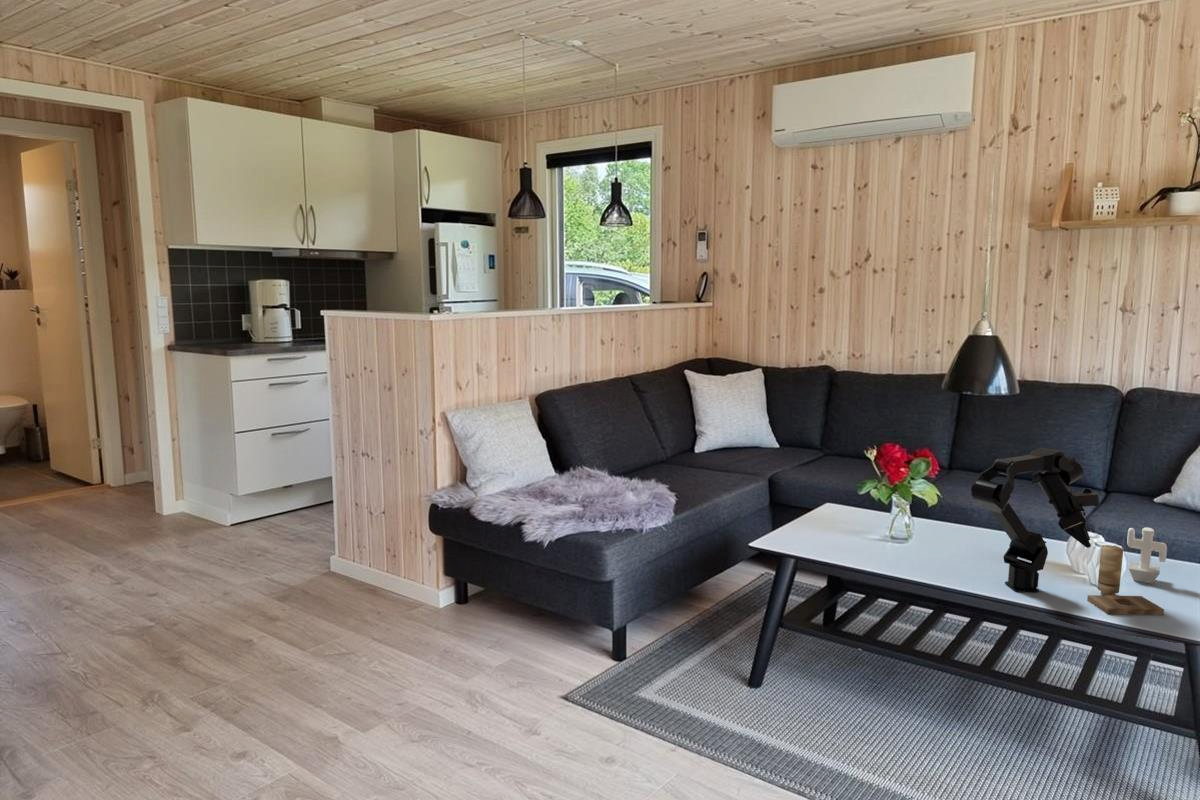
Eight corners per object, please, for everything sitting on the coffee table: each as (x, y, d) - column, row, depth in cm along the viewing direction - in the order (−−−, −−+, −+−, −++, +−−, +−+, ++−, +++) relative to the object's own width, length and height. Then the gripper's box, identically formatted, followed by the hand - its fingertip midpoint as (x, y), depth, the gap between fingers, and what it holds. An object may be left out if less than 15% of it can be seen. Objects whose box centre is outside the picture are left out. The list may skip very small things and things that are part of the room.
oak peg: (1103, 598, 217) (1108, 551, 215) (1092, 591, 222) (1097, 545, 220) (1122, 598, 217) (1127, 551, 215) (1111, 591, 222) (1116, 545, 220)
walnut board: (1107, 614, 206) (1108, 608, 206) (1087, 600, 215) (1087, 595, 215) (1163, 615, 206) (1164, 609, 206) (1140, 601, 215) (1141, 596, 215)
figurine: (1163, 587, 226) (1168, 534, 224) (1122, 580, 231) (1127, 528, 229) (1163, 579, 231) (1169, 528, 229) (1124, 572, 237) (1129, 522, 235)
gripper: (1087, 483, 212) (1121, 538, 209) (1086, 474, 228) (1118, 525, 225) (1044, 501, 217) (1077, 555, 214) (1046, 491, 233) (1077, 541, 230)
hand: (1088, 543), depth 221 cm, fingers open, 9 cm apart
